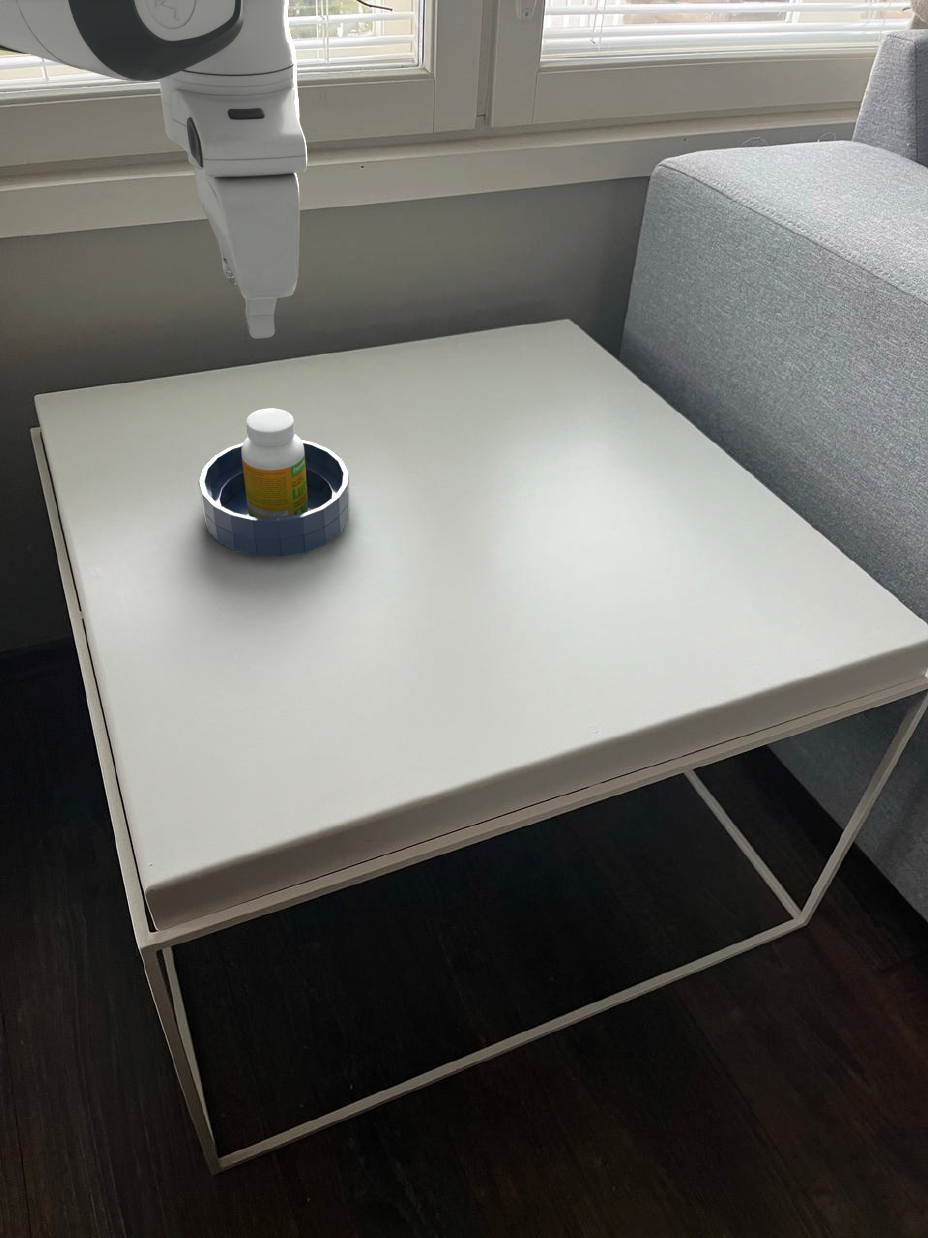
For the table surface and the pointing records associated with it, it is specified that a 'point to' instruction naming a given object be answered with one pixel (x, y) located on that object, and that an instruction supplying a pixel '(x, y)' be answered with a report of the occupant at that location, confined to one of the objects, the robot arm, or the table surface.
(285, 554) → the blue bowl
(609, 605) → the table surface
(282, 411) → the supplement bottle
